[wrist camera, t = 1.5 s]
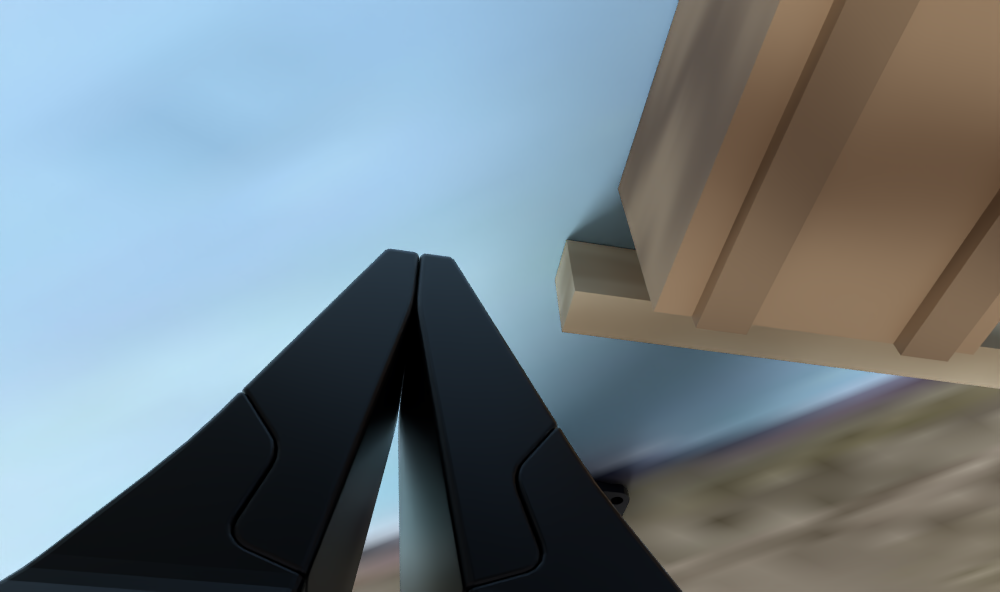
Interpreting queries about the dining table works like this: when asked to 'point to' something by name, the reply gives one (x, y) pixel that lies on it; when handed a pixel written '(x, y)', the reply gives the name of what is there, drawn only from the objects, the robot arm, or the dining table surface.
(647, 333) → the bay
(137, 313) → the dining table surface
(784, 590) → the dining table surface
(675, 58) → the crate
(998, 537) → the dining table surface
